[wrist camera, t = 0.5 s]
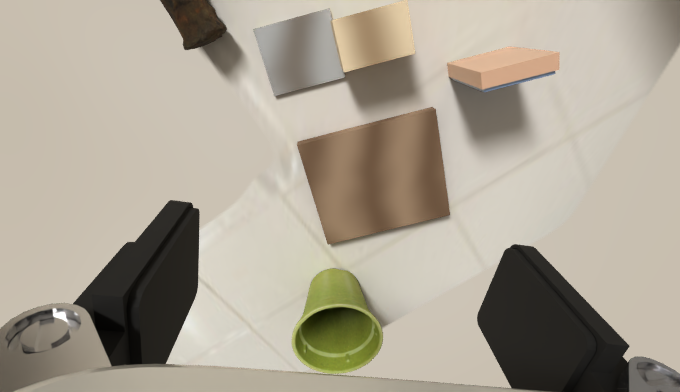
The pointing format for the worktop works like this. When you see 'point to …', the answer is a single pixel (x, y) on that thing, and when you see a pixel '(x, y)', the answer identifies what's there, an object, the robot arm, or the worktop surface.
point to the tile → (503, 67)
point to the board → (377, 175)
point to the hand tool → (195, 21)
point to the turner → (332, 45)
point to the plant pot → (336, 325)
